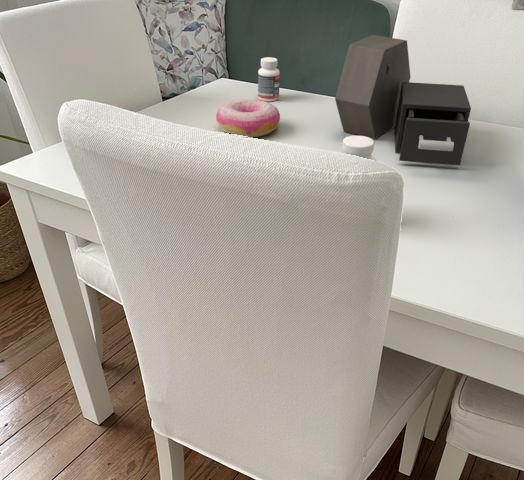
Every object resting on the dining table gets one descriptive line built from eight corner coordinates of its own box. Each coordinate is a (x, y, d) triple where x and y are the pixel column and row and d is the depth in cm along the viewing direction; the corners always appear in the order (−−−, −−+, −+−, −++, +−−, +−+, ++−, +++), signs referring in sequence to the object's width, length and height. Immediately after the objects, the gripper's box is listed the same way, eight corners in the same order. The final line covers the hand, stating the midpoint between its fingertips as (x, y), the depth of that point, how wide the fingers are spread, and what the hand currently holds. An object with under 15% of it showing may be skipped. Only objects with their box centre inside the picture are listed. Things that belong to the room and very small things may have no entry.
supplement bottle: (337, 205, 97) (345, 129, 89) (375, 214, 95) (386, 137, 86) (323, 222, 92) (330, 144, 84) (362, 232, 90) (373, 152, 82)
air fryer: (459, 157, 113) (471, 108, 107) (395, 153, 115) (403, 103, 109) (453, 132, 124) (463, 85, 118) (394, 128, 126) (402, 81, 120)
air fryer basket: (462, 175, 105) (472, 132, 100) (399, 170, 106) (406, 128, 101) (454, 139, 118) (462, 100, 113) (398, 135, 120) (404, 96, 115)
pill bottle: (277, 102, 138) (278, 62, 132) (256, 101, 139) (256, 61, 133) (280, 95, 142) (281, 57, 136) (259, 94, 143) (260, 55, 137)
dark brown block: (381, 89, 131) (368, 11, 113) (412, 95, 128) (404, 16, 110) (347, 148, 129) (329, 78, 110) (378, 156, 125) (364, 85, 107)
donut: (205, 133, 122) (203, 109, 119) (236, 115, 131) (236, 92, 128) (260, 145, 117) (260, 120, 114) (289, 125, 126) (290, 102, 123)
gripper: (622, -102, 82) (585, 9, 91) (476, -105, 84) (454, 3, 93) (636, -100, 77) (596, 17, 86) (481, -103, 79) (457, 10, 88)
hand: (521, 10), depth 90 cm, fingers closed
